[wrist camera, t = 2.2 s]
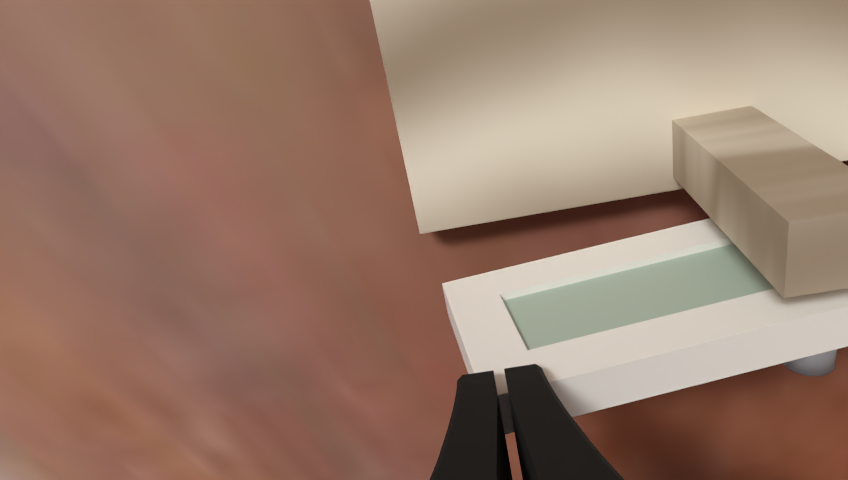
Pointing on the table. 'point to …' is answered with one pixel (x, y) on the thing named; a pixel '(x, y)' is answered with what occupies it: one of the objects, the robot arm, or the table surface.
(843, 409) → the table surface
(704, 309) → the frame
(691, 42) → the easel stand
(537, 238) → the table surface
